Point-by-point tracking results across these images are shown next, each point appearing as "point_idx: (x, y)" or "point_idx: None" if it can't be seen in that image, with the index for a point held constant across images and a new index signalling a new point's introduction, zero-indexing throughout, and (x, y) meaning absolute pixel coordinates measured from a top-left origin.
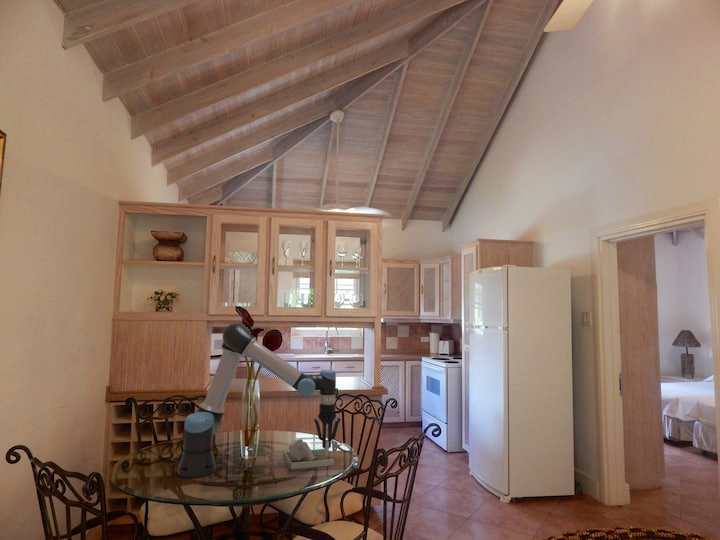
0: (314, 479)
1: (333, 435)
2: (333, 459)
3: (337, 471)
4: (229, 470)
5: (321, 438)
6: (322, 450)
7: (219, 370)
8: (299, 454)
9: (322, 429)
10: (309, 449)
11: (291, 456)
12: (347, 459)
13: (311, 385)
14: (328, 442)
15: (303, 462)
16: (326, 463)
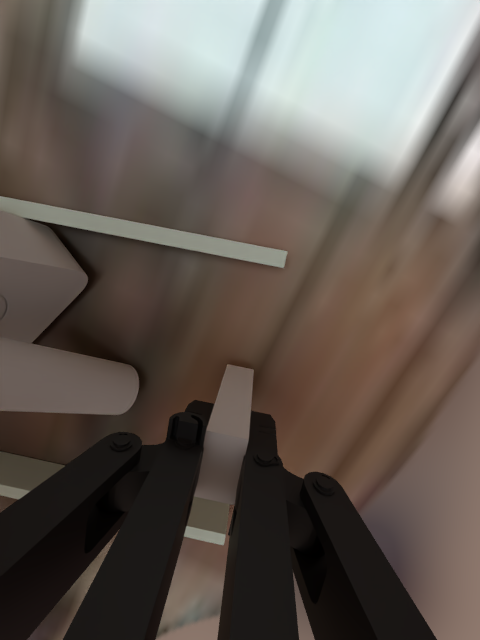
0: (49, 630)
1: (304, 590)
2: (221, 542)
3: (202, 598)
4: None
5: (118, 517)
6: (256, 261)
7: None
8: (4, 336)
9: (96, 576)
10: (47, 408)
11: None
12: (376, 451)
13: None
14: (230, 493)
15: (6, 494)
16: None
